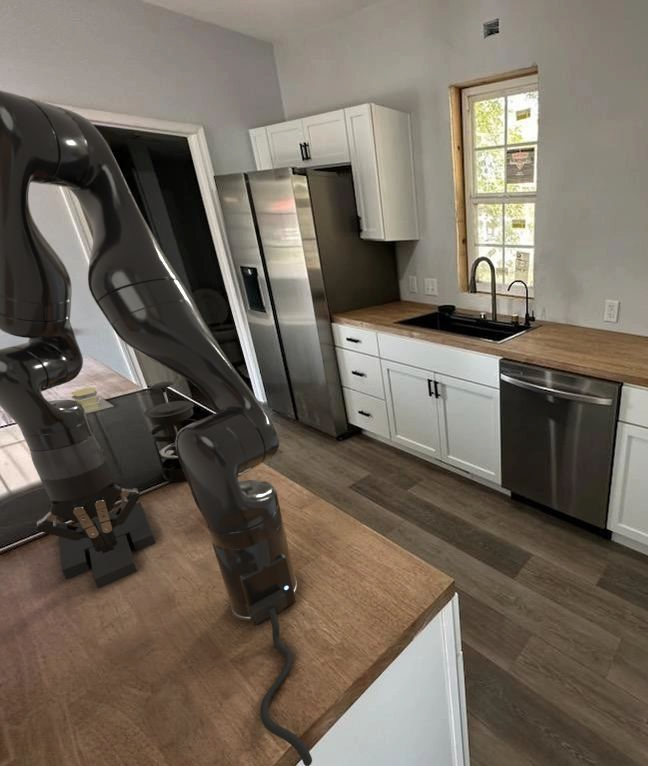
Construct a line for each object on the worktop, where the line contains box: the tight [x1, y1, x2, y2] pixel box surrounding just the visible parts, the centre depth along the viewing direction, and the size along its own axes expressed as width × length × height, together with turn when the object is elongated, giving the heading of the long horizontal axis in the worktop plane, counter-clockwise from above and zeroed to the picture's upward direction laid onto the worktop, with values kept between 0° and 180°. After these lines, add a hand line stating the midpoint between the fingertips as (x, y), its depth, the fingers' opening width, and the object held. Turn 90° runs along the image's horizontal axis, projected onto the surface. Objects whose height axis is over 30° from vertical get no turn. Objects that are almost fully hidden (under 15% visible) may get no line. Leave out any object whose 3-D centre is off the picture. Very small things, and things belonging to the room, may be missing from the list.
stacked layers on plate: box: [69, 386, 115, 415], centre depth 131 cm, size 10×9×6 cm
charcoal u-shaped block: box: [58, 501, 157, 580], centre depth 78 cm, size 14×12×2 cm
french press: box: [143, 381, 198, 483], centre depth 96 cm, size 12×9×23 cm
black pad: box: [89, 535, 138, 589], centre depth 73 cm, size 10×5×2 cm, turn 47°
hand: (108, 548), depth 72 cm, fingers closed
